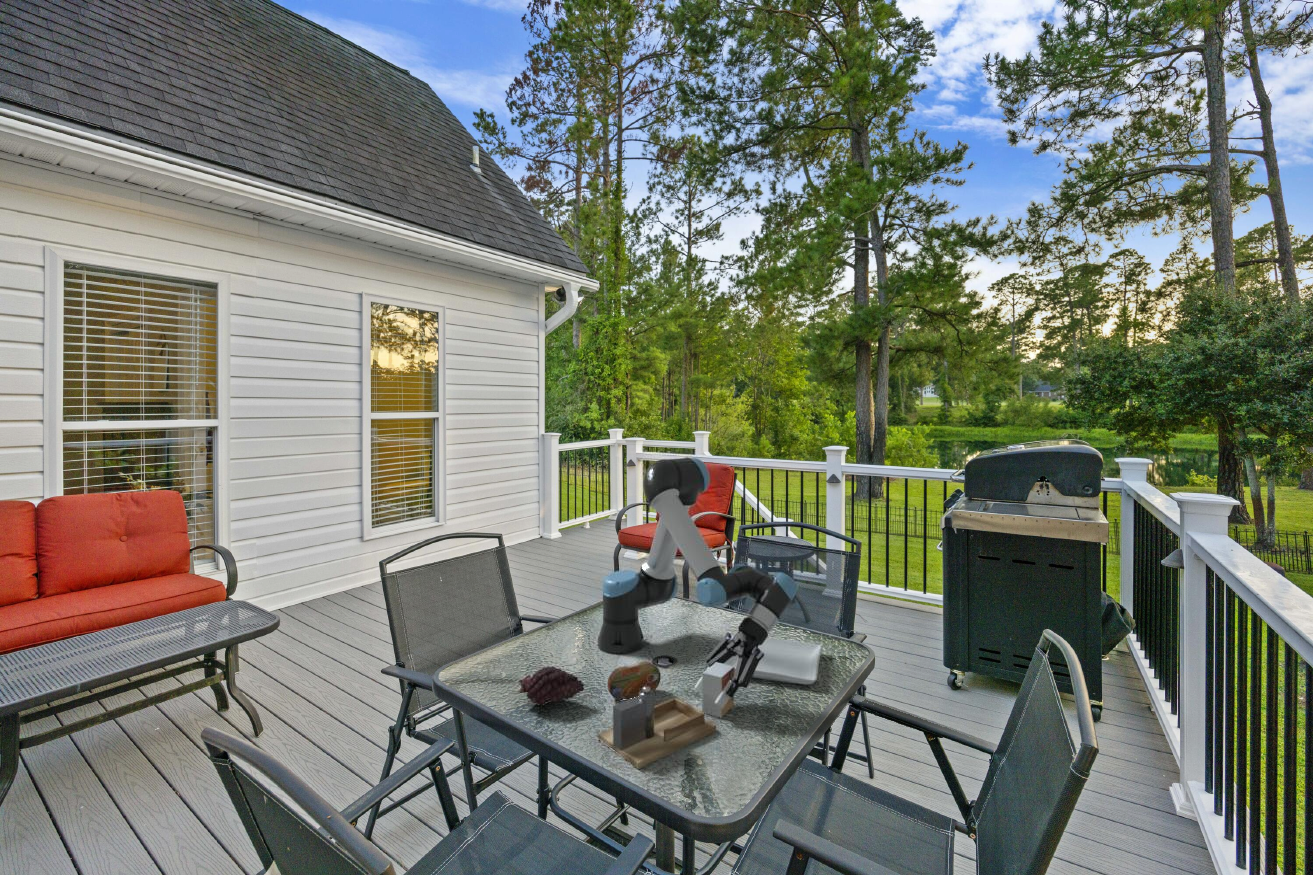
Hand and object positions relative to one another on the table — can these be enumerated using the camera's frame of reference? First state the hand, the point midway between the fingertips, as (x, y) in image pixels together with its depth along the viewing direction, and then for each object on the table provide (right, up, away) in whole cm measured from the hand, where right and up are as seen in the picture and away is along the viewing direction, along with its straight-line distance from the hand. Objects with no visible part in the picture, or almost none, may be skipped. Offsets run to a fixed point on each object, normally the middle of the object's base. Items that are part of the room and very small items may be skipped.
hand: (707, 697), depth 153 cm
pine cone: (-41, -4, +4) cm, 41 cm away
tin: (-19, -4, +9) cm, 22 cm away
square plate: (+22, -3, +29) cm, 36 cm away
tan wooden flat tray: (-13, -4, -11) cm, 17 cm away
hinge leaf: (-18, -3, -15) cm, 24 cm away
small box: (+3, -4, +2) cm, 5 cm away
